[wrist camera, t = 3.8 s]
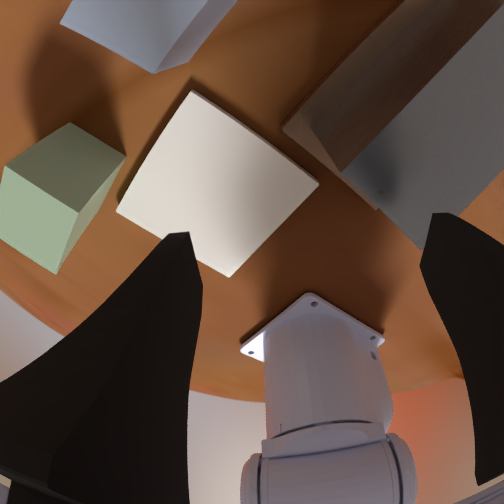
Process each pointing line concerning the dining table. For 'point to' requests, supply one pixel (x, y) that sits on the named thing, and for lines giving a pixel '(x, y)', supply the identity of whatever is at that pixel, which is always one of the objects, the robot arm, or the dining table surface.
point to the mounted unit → (413, 111)
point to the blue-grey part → (148, 27)
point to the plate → (215, 185)
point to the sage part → (55, 193)
